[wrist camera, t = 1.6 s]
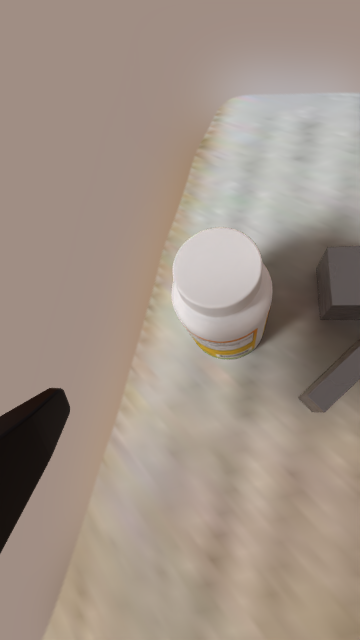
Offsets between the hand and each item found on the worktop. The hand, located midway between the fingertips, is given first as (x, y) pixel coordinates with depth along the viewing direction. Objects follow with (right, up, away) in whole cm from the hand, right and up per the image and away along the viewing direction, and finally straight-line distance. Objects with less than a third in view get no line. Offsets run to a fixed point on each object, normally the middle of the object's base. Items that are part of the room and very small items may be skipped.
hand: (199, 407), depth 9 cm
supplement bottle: (+3, +2, +13) cm, 14 cm away
